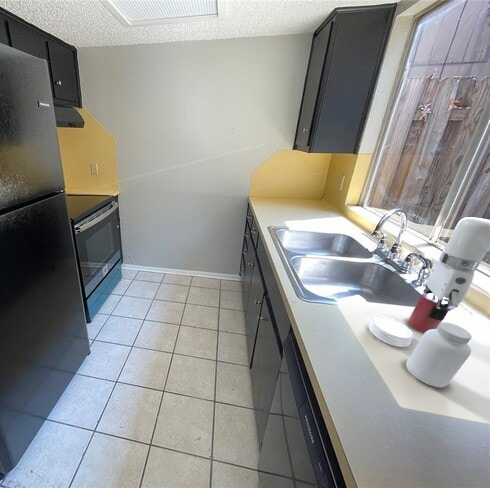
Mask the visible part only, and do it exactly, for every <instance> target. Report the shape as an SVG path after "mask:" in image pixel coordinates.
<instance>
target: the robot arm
mask: <svg viewBox="0 0 490 488" xmlns="http://www.w3.org/2000/svg"><path fill="white" fill-rule="evenodd" d="M488 251H490V219H487V218H479V217H464V218H462V219H460V220H459V221H458V222H457V224H456V226H455V228H454V230H453V232H452V234H451V236H450V238H449V239H448V241H447V244H446V245H445V247H444V249H443V250H442V252H441V254H440V256H439V258H438V260H437V263H436V264H435V266H434V267H433V269H432V270H431V272H430V273H429V276H428V277H427V278H426V282H425V288H424V289H423V291H422V292H423V293H433V294H434V295H435V296H436V297H437V298H438V300H437V305H436V306H434V307H433V309H432V310H431V312H430V314H429V316H428V317H429V318H431V319H435V320H440V321H442V322H443V321H444V319H445V318H446V316H447V314H448V313H449V312H450V311H451V310H453V309H456V308H459V304H461V303H462V302H463V300H464V299H465V297H466V295H467V293H468V291H469V289H470V287H471V285H472V283H473V279H474V276H475V272H476V271H477V269H478V267H479V266H480V264H481V263H482V261H483V259H484V257H485V256H486V255H487V253H488ZM443 298H446V299H443ZM447 299H448V300H447ZM442 301H447V304H442Z"/></svg>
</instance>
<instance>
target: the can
mask: <svg viewBox="0 0 490 488" xmlns="http://www.w3.org/2000/svg"><path fill="white" fill-rule="evenodd" d="M443 299H447V300H449V298H447V297H444V298H443ZM437 300H438V298H437V297H436V296H435V295H434V294H433V293H424V292H423V293H422V294H421V295H420V298H419V299H418V301H417V303H416V305H415V307H414V309H413V311H412V312H411V314H410V316H409V318H408V320H407V323H408V324H409V326H411V327H412V328H413V329H415V330H417V331H419V332H422V333H425V332H426V331H428V330H431V329H437V327H438V325H439V324H440V323H442V322H443V320H442V321H440V320H435V319H431V318H429V317H428V316H429V314H430V312H431V310H432V309H433V307H434V306H436V305H437ZM442 304H447V301H442Z"/></svg>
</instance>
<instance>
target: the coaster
mask: <svg viewBox="0 0 490 488" xmlns="http://www.w3.org/2000/svg"><path fill="white" fill-rule="evenodd" d="M368 330H369V331H370V333H371V334H372V335H373V337H375V338H376V339H378V340H379V341H381V342H383V343H385V344H388V345H390V346H393V347H398V348H406V347H409V346H410V345H411V343H412V341H413V340H414V338H415V334H414V332H413V331H412V329H411V328H409V327H408V326H407V325H406V324H404V323H402V322H401V321H399V320H398V319H394V318H392V317H388V316H384V315H379V316H378V315H376V316H374V317H372V318H371V321H370V323H369V324H368Z"/></svg>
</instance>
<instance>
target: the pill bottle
mask: <svg viewBox="0 0 490 488" xmlns="http://www.w3.org/2000/svg"><path fill="white" fill-rule="evenodd" d="M471 339H472V334H471V333H470V332H469V331H468V330H466V329H465V328H464V327H461V326H459V325H457V324H455V323H451V322H443V321H442V322H441V323H440V324H439V325H438V327H437V329H431V330H428V331H426V332H423V335H422V336H421V338H420V339H419V341H418V343H417V345H416V346H415V348H414V349H413V351H412V352H411V354H410V356H409V357H408V359H407V360H406V364H405V366H406V369H407V371H408V372H409V373H410V374H411V375H412V376H414V377H415V378H416V379H417V380H418V381H420V382H422V383H424V384H425V385H429V386H430V387H434V388H445V387H447V386H448V385H449V384H450V382H451V381H452V380H453V378H454V377H455V376H456V375H457V374H458V372H459V370H460V369H461V368H462V367H463V365H464V364H465V362H466V361H467V360H468V358H469V357H471V354H472V349H471V346H470V345H469V342H470V341H471Z"/></svg>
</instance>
